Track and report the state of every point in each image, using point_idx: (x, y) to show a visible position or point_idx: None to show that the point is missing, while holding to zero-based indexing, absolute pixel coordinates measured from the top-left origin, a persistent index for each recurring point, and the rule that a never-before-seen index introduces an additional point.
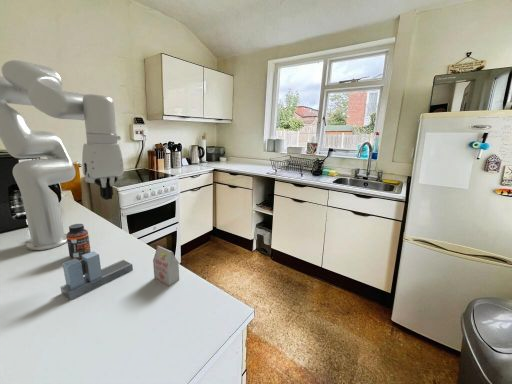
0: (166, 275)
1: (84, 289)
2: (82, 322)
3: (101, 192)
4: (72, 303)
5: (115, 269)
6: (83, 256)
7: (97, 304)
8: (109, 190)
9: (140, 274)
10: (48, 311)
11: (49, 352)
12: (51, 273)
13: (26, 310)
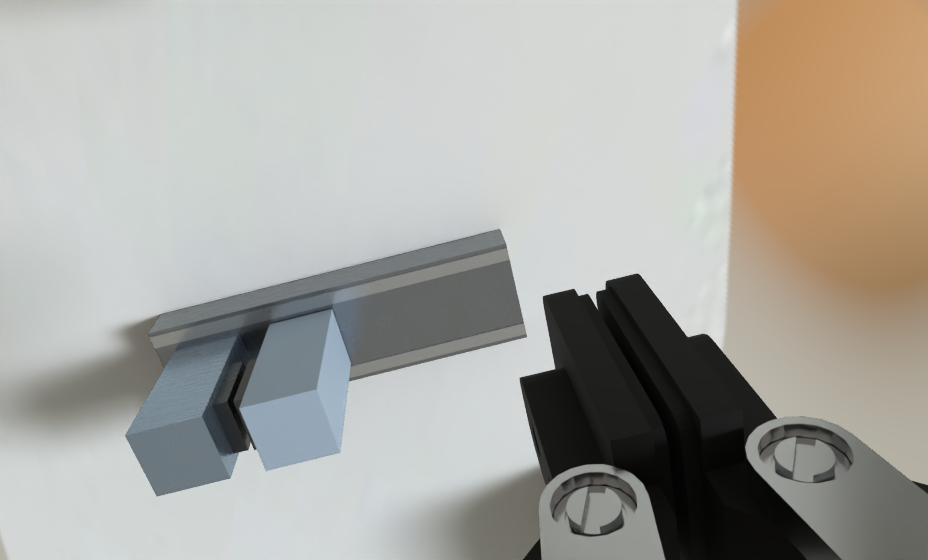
0: None
1: None
2: (239, 554)
3: (542, 462)
4: None
5: (430, 333)
6: (248, 428)
7: (302, 489)
8: (678, 539)
9: None
10: (115, 420)
11: None
12: (87, 24)
13: (21, 356)
